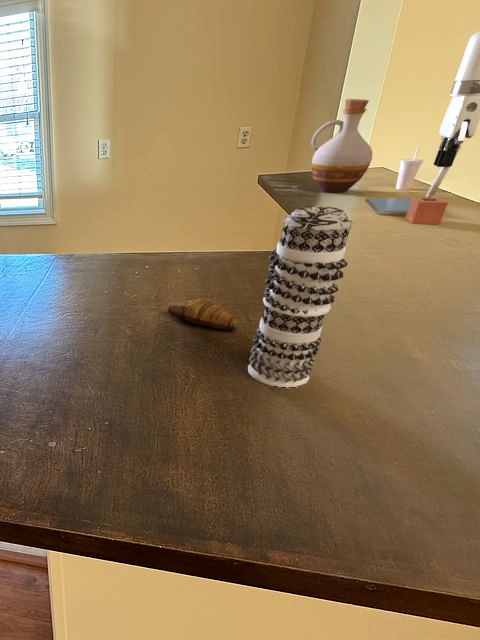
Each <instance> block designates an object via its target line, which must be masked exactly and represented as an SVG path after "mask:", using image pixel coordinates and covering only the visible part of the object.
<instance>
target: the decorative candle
mask: <svg viewBox="0 0 480 640" xmlns="http://www.w3.org/2000/svg"><path fill="white" fill-rule="evenodd" d="M281 221H282V223H283V227H282V229H281V231H282V232H281V236H280V239H279V240H278V242H277V246H276V247H275V249H273V250H272V251H271V252H270V255H269V260H270V262H271V264H269V265H268V266H267V275H266V279H265V281H264V283H265V284H266V288H265V289H264V293H263V298H262V301H263V302H262V303H263V305H264V310H263V315H262V317H261V318H260V320H259V326H258V327H256V330H255V335H256V336H255V337H254V339H253V343H254V345H253V346H252V347H251V349H250V354H251V355H250V357H249V359H248V362H249V364H248V365H247V371H248V374H249V375H250V376H251V377H252V379H254V380H256V381H258V382H260V383H262V384H264V385H268V386H271V387H274V386H277V387H276V388H281V387H286V388H285V389H290V388H289V387H296V388H298V387H297V386H300V385H303V384H305V383H306V384H308V382H309V380H310V375H311V374H312V372H311V371H313V366H315V363H314V362H316V358H315V356H317V354H318V351H319V348H318V347H319V346H320V343H321V342H322V338H321V337H320V336H321V335H322V330H323V326H322V325H323V321H324V319H325V314H328V313H329V312H330V310H331V309H332V306H331V304H333V303H334V302H335V296H334V295H333V294H335V293H337V292H338V291H339V287H338V285H337V284H336V283H335V282H334V281H337V280H340V279H343V278H344V272H343V271H342V270H341V269H344V268H346V267H347V266H348V264H349V263H348V262H347V260H346V259H344V257H345V254H346V250H347V246H346V244H347V241H348V237H349V235H350V230H351V228H353V226H355V223H354V222H353V221H352V220H350V219H349V217H348V214H347V213H346V212H345V211H344V210H343V209H341V208H337V207H332V206H325V205H308V206H301V207H298V208H296V209H295V210H293V211H292V212H291V213H290V215H289V216H286V217H285V216H284V218H282V219H281ZM307 381H308V382H307ZM306 384H305V385H306ZM303 386H304V385H303ZM300 387H301V386H300Z"/></svg>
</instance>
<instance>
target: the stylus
mask: <svg viewBox="0 0 480 640" xmlns="http://www.w3.org/2000/svg"><path fill="white" fill-rule="evenodd" d="M461 149H462V144H460V147H459V149H458V151H457V154H456V156H455V158H457V156H458V154H459V152H460V150H461ZM450 168H451V167H440V170H439V171H438V173H437V175H436V176H435V178H434V181H433V182H432V184H431V186H430V187H429V189H428V191H427V193H426V196H425V197H428V198H431V197H433V198H434V196H435V194H436V193H437V191H438V188H439V187H440V186H441V184H442V182H443V180H444V178H445V177H446V175H447V173H448V172H449V170H450Z"/></svg>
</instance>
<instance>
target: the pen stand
mask: <svg viewBox="0 0 480 640" xmlns="http://www.w3.org/2000/svg"><path fill="white" fill-rule="evenodd" d="M411 199H412V201H411V204H410V206H409V209H408V212H407V215H405V219H406V220H407V221H408V222H410V224H413V225H414V224H419V225H440V224H441V222H442V219H443V217H444V215H445V212H446V210H447V207H448V204H449V202H448V201H447V200H446V199H443V198H442V197H441V196H440V197H437V196H436V197H434V196H433V197H431V198H428V197H427V196H413V197H412V198H411Z"/></svg>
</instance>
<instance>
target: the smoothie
mask: <svg viewBox="0 0 480 640" xmlns="http://www.w3.org/2000/svg"><path fill="white" fill-rule="evenodd" d="M419 149H420V146H417V147H416V151H415V153H414V157H413V158H401V159H400V161H399V164H400V165H399V170H398V175H397V182H396V187H395V190H402V191H407V190H409V189H410V188H411V186H412V183H413V182H414V179H415V178H416V177H417V173H418V171H419V169H420V167H421V165H422V164H423V163H424V159H421V158H417V156H418V153H419Z"/></svg>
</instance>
